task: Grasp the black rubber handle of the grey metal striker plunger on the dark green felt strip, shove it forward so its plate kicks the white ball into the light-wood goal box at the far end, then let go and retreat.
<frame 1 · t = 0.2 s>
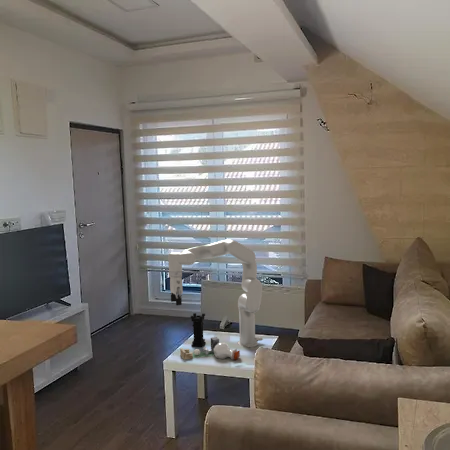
hand: (176, 303, 273), 31 cm above the table, tool pointing down, fingers open, 9 cm apart
felt board: (202, 356, 272), on the table
potion bottle: (226, 359, 267), on the table
chess piece: (198, 347, 289), on the table
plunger: (211, 345, 274), point 6 cm above the table, slide at 0.0 cm
ball: (197, 352, 271), point 3 cm above the table, touching felt board
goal: (187, 356, 269), resting on felt board
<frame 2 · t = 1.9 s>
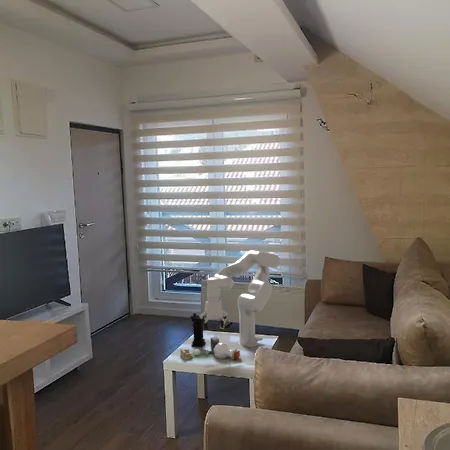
hand: (213, 328, 273), 16 cm above the table, tool pointing down, fingers open, 9 cm apart
nothing on the table moved.
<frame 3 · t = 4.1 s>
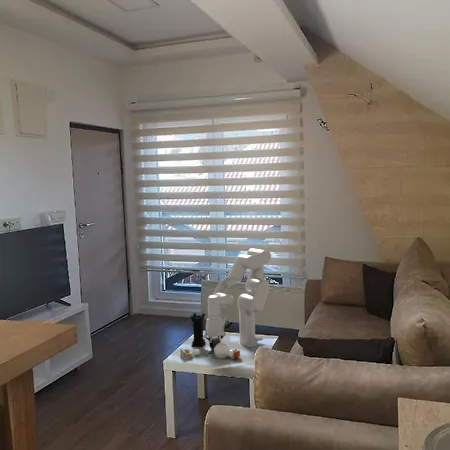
hand: (215, 347, 275), 4 cm above the table, tool pointing down, fingers closed on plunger, 3 cm apart
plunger: (211, 345, 274), point 6 cm above the table, slide at 0.0 cm, touching gripper
everything else where it was.
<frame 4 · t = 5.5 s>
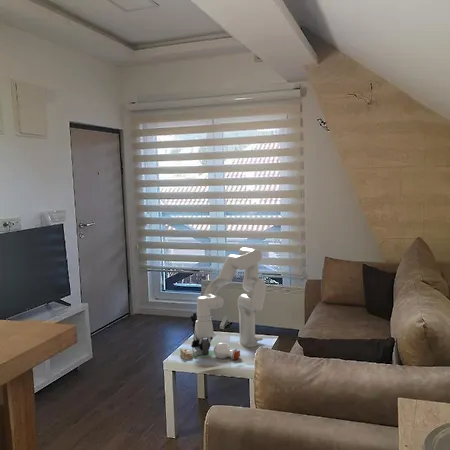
hand: (204, 348, 272), 4 cm above the table, tool pointing down, fingers closed on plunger, 3 cm apart
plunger: (200, 347, 272), point 6 cm above the table, slide at 6.5 cm, touching gripper
ball: (188, 353, 269), point 3 cm above the table, tilted 160°, touching felt board
everything else where it was.
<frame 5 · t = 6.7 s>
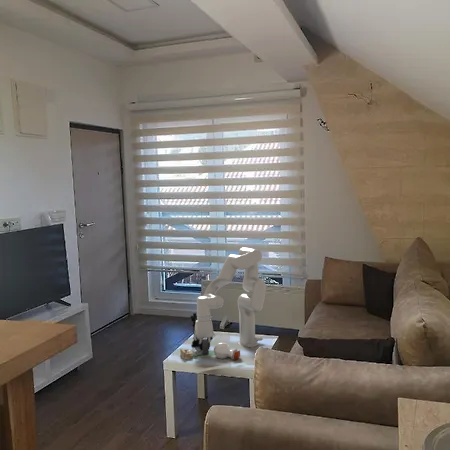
hand: (204, 348, 272), 4 cm above the table, tool pointing down, fingers closed on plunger, 3 cm apart
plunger: (200, 347, 272), point 6 cm above the table, slide at 6.5 cm, touching gripper
ball: (189, 353, 270), point 3 cm above the table, tilted 134°, touching felt board
everything else where it was.
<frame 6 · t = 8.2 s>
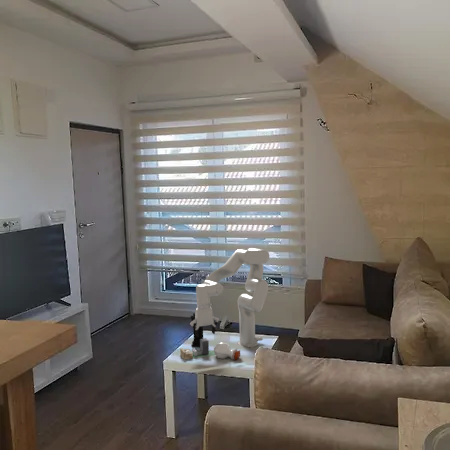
hand: (205, 334, 272), 12 cm above the table, tool pointing down, fingers open, 9 cm apart
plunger: (200, 347, 272), point 6 cm above the table, slide at 6.5 cm
ball: (187, 353, 269), point 3 cm above the table, tilted 174°, touching felt board
everything else where it was.
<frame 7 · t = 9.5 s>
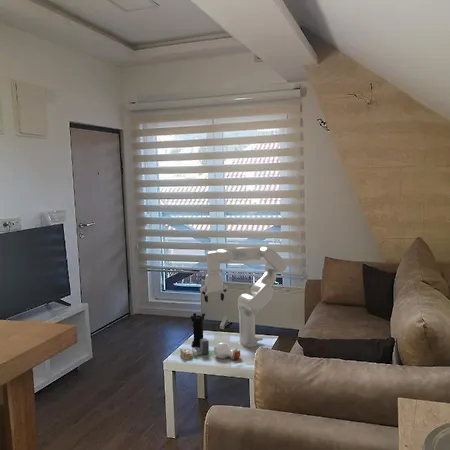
hand: (214, 301, 278), 30 cm above the table, tool pointing down, fingers open, 9 cm apart
nothing on the table moved.
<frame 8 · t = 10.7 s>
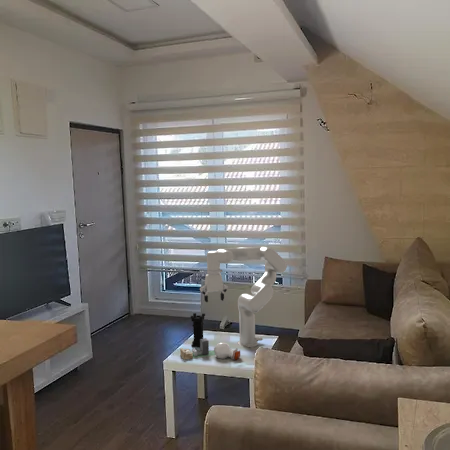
hand: (214, 301, 278), 30 cm above the table, tool pointing down, fingers open, 9 cm apart
nothing on the table moved.
at the end: ball 0.7 cm from the target spot on the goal, point 1.8 cm above the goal's base; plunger slide at 6.5 cm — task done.
